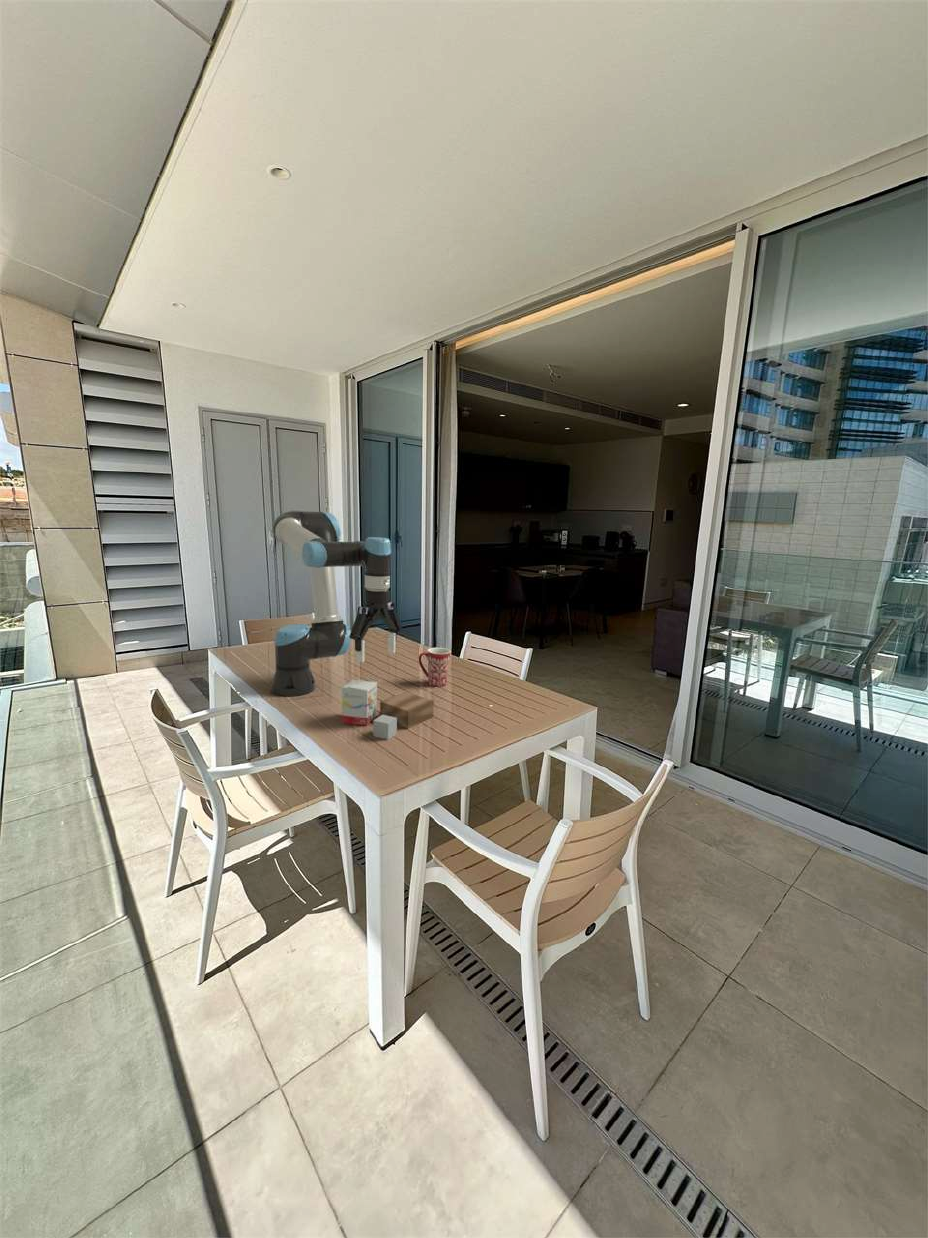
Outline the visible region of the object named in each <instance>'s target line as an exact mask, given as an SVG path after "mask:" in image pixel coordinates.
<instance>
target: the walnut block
mask: <svg viewBox="0 0 928 1238" xmlns="http://www.w3.org/2000/svg"><path fill="white" fill-rule="evenodd" d="M434 701H435V700H432V699H429V698H426V697H423V696H421V695H418V694H414V693H411V692H408V691H405V692H403V693H400V694H399V693H398V694H396V695H394V696H391V697H389V698H386V699H383V700H381V701H380V704H379V706H380V707H379V713H380V714H379V717H380V716H381V715H386V716H391V717H396V718H397V726H400V727H402V728H404V729H412V728H413V727H415V726H418V725H420V724H422V723H424V722H426V721H428V720H431V719H433V718H434V705H435V704H434Z"/></svg>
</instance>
